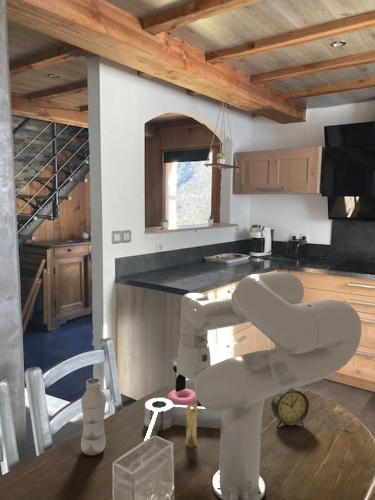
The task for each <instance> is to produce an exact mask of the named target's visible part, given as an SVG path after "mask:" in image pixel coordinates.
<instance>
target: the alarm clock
mask: <svg viewBox="0 0 375 500" xmlns="http://www.w3.org/2000/svg"><path fill="white" fill-rule="evenodd" d="M309 402H310V401H309V399H308V398H307V396H306V394H305V393H304V392H302V391H301V390H299V388H298V387H296V388H292V389H289V390H286V391H284V392H281V393H279V394H277V395H275V396H272V399H271V402H270V403H271V411H272V414H273V415H274V417H276V418H277V419H278V421H279V422H278V424H277V426H276V428H277V429H278V428H279V426H281V424H283V425H286V426H288V427H289V426H291V427H292V426H296V425H298V424H300V423H301V425H304V422H303V421H304V420H305V419H306V417H307V415H308V413H309V410H310V409H309V408H310V403H309Z"/></svg>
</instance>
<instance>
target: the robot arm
mask: <svg viewBox="0 0 375 500" xmlns="http://www.w3.org/2000/svg"><path fill="white" fill-rule="evenodd" d="M304 295H305V287H304V285H303V283H302V280H300V278H299V277H297V275H294V274H293V273H290V272H288V271H287V272H286V271H273V272H263V273H252V274H249V275H246V276H245V277H243V278H242V279H241V280H240V281H239V282H238V284H237V285H236V288H235V289H234V290H233V291H232V294H231V296H228V297H223V298H221V297H220V298H215V299H209V297H208V296H207V295H206V294H203V293H199V292H188V293H185V294H184V295H182V297H181V301H180V302H181V303H180V326H179V327H180V330H179V331H180V332H179V340H178V341H179V342H178V347H177V352H176V357H174V358H172V359H171V362H172V366H173V367H172V369H173V371H174V378H175V389H174V390H175V391H176V392H179V391H182V390H185V389H186V379H188V380H190V381H191V382H193V383H194V392H195V394H196V397H197V400H198V403H197V406H198V407H204V408H205V409H207V410H209V411H212V412H219V411H223V412H222V417H221V429H220V437H219V440H220V441H219V446H220V447H219V467H218V469H219V470H218V471H217V472H215V474H214V475H213V478H212V484H211V485H212V489H213V492H214V493H215V495H216V496H217V497H218V498H220V499H221V500H262V499H263V497H264V496H265V493H266V483H265V481H264V479H263V478H262V477H261V475H260V466H261V465H260V462H261V444H262V442H261V441H262V429H263V428H262V427H263V413H264V405H265V403H266V399H270V398H273V396H275V395H277V394H279V393H281V392H284V391H286V390H289V389H292V388H300V387H302V386H305V385H309V384H312V383H315V382H317V381H321V380H323V379H325V378H328V377H330V376H331V375H333V374H336V373H337V372H339V371H340V370H341V369H343V368H344V367H345V366H346V365H347V364H348V363H349V362H350V361H351V360H352V358H353V357H354V355H355V354H356V352H357V350H358V348H359V345H360V342H361V339H362V321H361V317H360V315H359V313H358V312H357V310H356V309H355V308H354V307H353V306H351V305H350V304H348V303H346V302H343V301H341V300H335V299H323V300H315V301H310V302H309V301H308V302H302V301H303V300H304ZM246 323H251V324H252V325H253V327H255V328H256V329H258V331H260V333H262V334H263V335H264V336H265V337H267V339H269V340H270V341H271V342H272V343H273V344H274V345H275V346H277V347H275V348H270V349H263V350H257V351H252V352H248V353H244V354H240V355H236V356H232V357H230V358H226V359H225V360H222V361H219V362H216V363H214V364H212V365H211V352H210V347H209V345H208V343H209V340H208V335H209V334H208V331H213V330H218V329H223V328H230V327H234V326H239V325H241V324H246Z"/></svg>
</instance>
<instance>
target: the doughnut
mask: <svg viewBox="0 0 375 500" xmlns="http://www.w3.org/2000/svg"><path fill="white" fill-rule="evenodd" d="M165 398H166V399H168V400H170V401H171V402H173V405H184V406H189V405H195V406H198V404H197V403H198V400H197V397H196V394H195V390H193V389H190V388H185V390H182V391H179V392H176V391H175V389H172V390H171V391H169V392H168V394H167V396H166V397H165ZM166 399H165V400H166Z"/></svg>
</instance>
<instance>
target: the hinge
mask: <svg viewBox="0 0 375 500" xmlns="http://www.w3.org/2000/svg"><path fill="white" fill-rule="evenodd" d="M166 398H167V397H154V398H151V399H148V400H147V401H145V403H144V426H145V427H146V428H148V430H147V431H146V435H145V437H144V439H143V442H144V441H146V440H147V439H149V438H150V437H152V436H155V435H156V436H157V435H158V432H159V430H160V431H165V430H167V429H169V428H171V427H172V426H182V427H183V426H184V427H186V417H187V406H184V405H173V402H171V401H170V400H168V399H166ZM222 412H223V411H219V412H212V411H209V410H207V409H205V408H204V407H203V406H198V405H197V428H206V429H207V428H209V429H220V430H221V417H222Z"/></svg>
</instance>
